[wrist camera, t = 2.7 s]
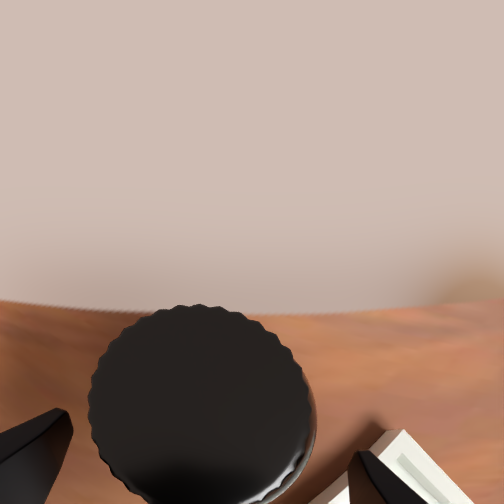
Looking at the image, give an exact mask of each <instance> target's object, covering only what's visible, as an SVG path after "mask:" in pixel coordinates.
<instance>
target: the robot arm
mask: <svg viewBox="0 0 504 504" xmlns="http://www.w3.org/2000/svg"><path fill="white" fill-rule="evenodd" d="M72 436H73V425H72V422H71V419H70V416H69V413H68V412H67V411H66V410H63V409H60V408H54V409H52V410H50V411H48V412H46V413H44V414H41V415H39V416H37V417H35V418H33V419H31V420H29V421H26V422H24V423H22V424H20V425H18V426H15V427H13V428H11V429H9V430H7V431H4V432H2V433H0V504H44V503H45V501H46V499H47V497H48V494H49V492H50V490H51V488H52V486H53V484H54V482H55V480H56V478H57V476H58V474H59V471H60V469H61V467H62V464H63V461H64V458H65V455H66V452H67V450H68V447H69V444H70V441H71V439H72ZM347 475H348V488H349V502H350V504H429V503H428V502H426V501H425V500H424V499H423V498H422V497H421V496H419V495H418V494H417V493H416V492H415V491H414V490H413V489H412V488H410V487H409V486H408V485H407V484H406V483H405V482H404V481H403V480H401V479H400V478H399V477H398V476H397V475H396V474H395V473H394V472H393V471H392V470H390V469H389V468H388V467H387V466H386V465H385V464H384V463H383V462H382V461H381V460H380V459H379V458H377V457H376V456H375V455H374V454H373V453H372V452H371V451H370V450H357V451H356V452H355V453H354V455H353V457H352V459H351V461H350V463H349V465H348V469H347Z"/></svg>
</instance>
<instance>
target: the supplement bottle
mask: <svg viewBox="0 0 504 504" xmlns="http://www.w3.org/2000/svg"><path fill="white" fill-rule="evenodd" d="M91 383H92V388H91V390H90V392H89V394H88V402H89V406H90V408H89V412H88V420H89V423H90V424H91V426H92V431H91V436H92V439H93V441H94V443H95V444H96V445H97V446H98V449H99V455H100V458H101V459H102V460H103V461H104V462H105V463H106V464H107V465H109V468H110V471H111V473H112V475H113V476H114V477H115V478H117V479H119V480H120V481H122V482H123V483H124V485H125V486H126V488H127V489H128V490H129V491H130V492H132V493H134V494H137V495H140V496H141V497H142V498H143V499H144V500H145V501H146V502H147V503H148V504H268V503H269V502H271V501H273V500H274V499H276V498H277V497H279V496H280V495H281V494H282V493H284V492H285V491H286V490H287V489H288V488H289V487H290V486H291V485H292V484H293V483H294V482H295V481H296V479H297V478H298V477H299V475H300V474H301V473H302V471H303V469H304V468H305V466H306V464H307V462H308V460H309V458H310V456H311V453H312V450H313V447H314V443H315V438H316V431H317V412H316V404H315V400H314V396H313V393H312V390H311V387H310V385H309V382H308V380H307V378H306V376H305V374H304V373H303V371H302V368H301V367H300V366H299V364H298V363H297V362H296V361H295V360H294V359H293V355H292V352H291V350H290V349H289V348H287V347H285V346H283V345H282V344H281V343H280V341H279V339H278V337H277V335H276V334H274V333H272V332H268V331H266V330H265V329H264V327H263V326H262V325H261V324H260V322H258V321H254V320H249V319H247V318H246V317H245V316H244V315H243V314H242V313H240V312H229V311H227V310H226V309H224V308H222V307H220V306H218V307H207V306H205V305H201V304H197V305H193V306H190V307H188V306H183V305H178V306H175V307H174V308H172V309H170V310H167V309H160V310H158V311H156V312H155V313H154V314H153V315H151V316H145V317H141V318H140V319H139V320H138V321H137V322H136V323H135V324H134V325H132V326H129V327H127V328H124V330H123V331H122V333H121V334H120V336H119V337H118V338H117V339H115V340H113V341H112V342H110V344H109V346H108V350H107V352H106V353H105V354H104V355H102V356H101V357H100V358H99V361H98V369H97V370H96V371H95V373H94V374H93V375H92V377H91Z"/></svg>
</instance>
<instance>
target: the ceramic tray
mask: <svg viewBox="0 0 504 504" xmlns="http://www.w3.org/2000/svg"><path fill="white" fill-rule="evenodd" d="M368 450H370V451H371V452H372V453H373V454H374V455H375V456H376V457H377V458H379V459H380V460H381V461H382V462H383V463H384V464H385V465H386V466H387V467H388V468H389V469H390V470H392V471H393V472H394V473H395V474H396V475H397V476H398V477H399V478H400V479H401V480H403V481H404V482H405V483H406V484H407V485H408V486H409V487H410V488H412V489H413V490H414V491H415V492H416V493H417V494H418V495H419V496H421V497H422V498H423V499H424V500H425V501H426V502H428V503H429V504H474V503H473V502H472V501H471V500H470V499H469V498H468V497H467V496H466V495H465V494H464V493H463V492H462V491H461V490H460V488H459V487H458V486H457V485H456V484H455V483H454V482H453V481H452V480H451V479H450V478H449V477H448V476H447V475H446V474H445V473H444V472H443V470H442V469H441V468H440V467H439V466H438V465H437V464H436V463H435V462H434V461H433V460H432V459H431V458H430V457H429V456H428V455H427V453H426V452H425V451H424V450H423V449H422V448H421V447H420V446H419V445H418V444H417V443H416V442H415V441H414V440H413V439H412V437H411V436H410V435H409V434H408V433H407V432H406V431H405V430H404V429H398V430H388V431H386V432H385V433H384V434H383V435H382V436H381V437H380V438H379V439H378V440H377V441H376V442H375V443H374V444H373V445H372V446H371V447H370V448H369V449H368ZM308 504H350V502H349V488H348V475H347V471H345V472H344V473H343V474H342V475H341V476H340V477H339V478H338V479H337V480H335V481H334V482H333V483H332V484H331V485H330V486H328V487H327V488H326V489H325V490H324V491H323V492H321V493H320V494H319V495H318V496H316V497H315V498H314V499H313V500H311V501H310V502H309V503H308Z"/></svg>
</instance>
